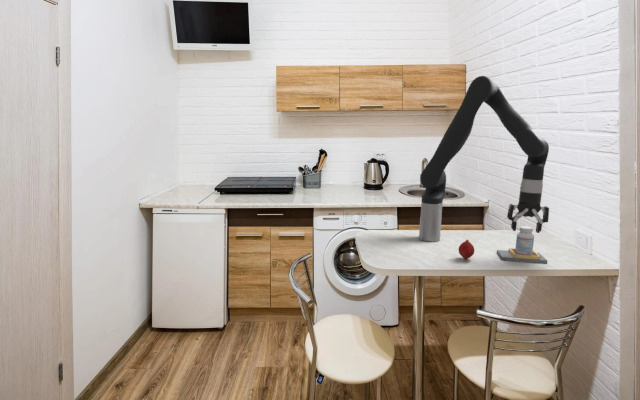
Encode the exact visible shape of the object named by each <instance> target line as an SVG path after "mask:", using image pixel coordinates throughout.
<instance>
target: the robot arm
mask: <svg viewBox="0 0 640 400" xmlns="http://www.w3.org/2000/svg"><path fill="white" fill-rule="evenodd" d="M467 88H468V89H467V91H466V94H465V95H464V98H463V100H462V102H461V104H460V105H459V108H458V110H457V112H456V113H455V114H454V117H453V118H452V120H451V121H450V124H449V125H448V127H447V129H446V131H445V133H444V134H443V136H442V139H441V140H440V142H439V144H438V146H437V147H436V150H435V152H434V154H433V155H432V157H431V159H430V160H429V161H428V163H427V164H426V166H425V167H424V168H423V170H422V171H421V174H420V183H421V186H423V187H424V188H425V190H424V193H423V195H422V196H421V204H420V206H421V207H420V217H419V231H418V232H419V233H418V239H419V241H425V242H433V243H434V242H439V241H440V240H441V229H442V228H441V227H442V217H443V216H442V213H443V201H444V198H445V194H446V185H447V174H446V171H445V169H446V167H447V166H448V165H449V163H450V162H451V160H453V158H454V157H455V156H456V155H457V154H458V153H459V151H461V150H462V148H463V147H464V145H465V144H466V143H467V142H466V141H468V138H469V136H470V135H471V133H472V129H473V126H474V122H475V119H476V116H477V113H478V111H479V109H480V108H481V106H482V105H483V103H485V104H486V105H487V106H489V107H490V108H491V109H492V110H493V111H494V112H495V114H496V116H497V117H498V118H499V120H500V122H501V124H502V125H503V126H504V128H505V129H506V130H507V131H508V133H509V134H510V135H511V136H512V137H513V138H514V139H515V141H516V143H517V144H518V145H519V148H521V150H522V151H523V153H524V154H525V155H527V160H526V163H525V164H524V166H523V171H522V179H521V182H520V187H519V196H518V197H519V198H518V203H517V204H513V203H509V206H508V209H507V215H506V218H507V219H508V220H509V221H511V224H510V225H511V226H510V228H511V230H512V231H513V232H516V231H517V225H518V224H517V223H518V222H517V221H518V220H519V219H521V218H523V217H525V218H527V217H529V218H533V217H534V218H535V220H536V221H537V222H536V226H535V233H537V234H540V232H541V231H542V230H543V229H542V227H543V224H544V223H548V222H549V214H550V207H548V206H547V205H545V206H541V203H542V195H543V194H542V193H543V185H544V172H545V167H546V166H545V165H546V163H547V159H548V156H549V149H550V147H549V146H550V145H549V143H548V141H547V140H546V139H543V138H539V137H538V136H537V134H535V132H534V131H533V129H532V126H531V125H530V124H529V123H528V121H527V120H526V119H525V118H524V117H523V116H522V115H521V113H519V112H518V110H516V109H515V107H514V106H513V105H512V103H510V102H509V100H508V99H507V98H506V96H505V95H504V93H503V92H502V89H501V88H500V86H499V85H498V83H497V82H496V81H495V80H494V79H493V78H491V77H489V76H486V75H479V76H477V77H475V78H474V79H473V80H472V81H471V83H470V84H469V86H468V87H467ZM516 209H517V210H518V211H517V212H516V213H515V214H514V211H515V210H516ZM540 211H541V212H542V218H541V216H540V215H539V212H540ZM513 214H514V216H513Z"/></svg>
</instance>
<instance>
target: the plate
mask: <svg viewBox="0 0 640 400" xmlns="http://www.w3.org/2000/svg"><path fill="white" fill-rule="evenodd" d="M515 249H516V248H513V247H512V248H511V247H509V248H508V250H505V249H504V250H503V249H502V250H501V249H496V254H497V256H499V258H500V259H501V260H502V261H509V262H511V261H512V262H524V263H535V264H536V263H537V264H548V259H546V257H544V256H543V255H542V254H541V253H540V252H536V251H535V250H534V249H533V252H532V256H531V255H517V254H515Z"/></svg>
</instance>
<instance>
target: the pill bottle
mask: <svg viewBox="0 0 640 400" xmlns="http://www.w3.org/2000/svg"><path fill="white" fill-rule="evenodd" d="M533 230H534V228H533V227H531V226H526V225H525V226H519V232H517V234H516V240H515V241H516V242H515V248H514V249H515V254H517V255H531V256H532V252H533V250H534V241H535V235H534V234H533V232H534V231H533Z"/></svg>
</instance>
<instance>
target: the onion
mask: <svg viewBox="0 0 640 400" xmlns="http://www.w3.org/2000/svg"><path fill="white" fill-rule="evenodd" d="M458 254H459V255H460V257H462V258H463V259H464V260H469V258H471V257H473V255H474V254H475V248H474V245H473V244H472V243H471V242H470V241H469V239H466V240H465V241H463V242H462V243H460V245H459V246H458Z"/></svg>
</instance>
